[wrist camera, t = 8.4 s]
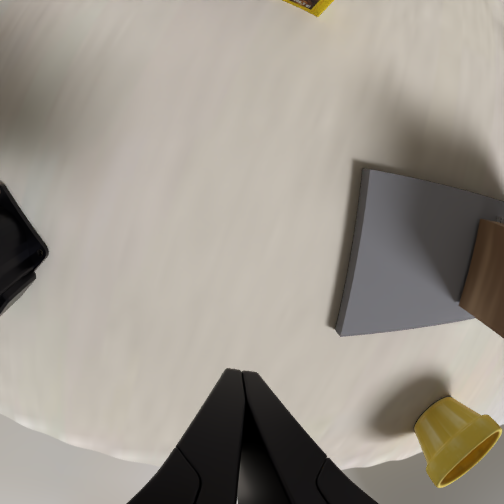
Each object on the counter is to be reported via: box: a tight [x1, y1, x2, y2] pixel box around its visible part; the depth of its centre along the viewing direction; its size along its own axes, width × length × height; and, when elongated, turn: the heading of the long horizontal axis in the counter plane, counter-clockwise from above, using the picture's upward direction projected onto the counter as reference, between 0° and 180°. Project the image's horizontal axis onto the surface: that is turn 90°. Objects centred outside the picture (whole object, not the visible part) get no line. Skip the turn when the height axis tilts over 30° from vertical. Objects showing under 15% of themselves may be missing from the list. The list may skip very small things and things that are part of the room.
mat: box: [335, 168, 504, 337], centre depth 22 cm, size 25×12×1 cm, turn 85°
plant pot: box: [414, 397, 502, 488], centre depth 25 cm, size 10×10×10 cm
